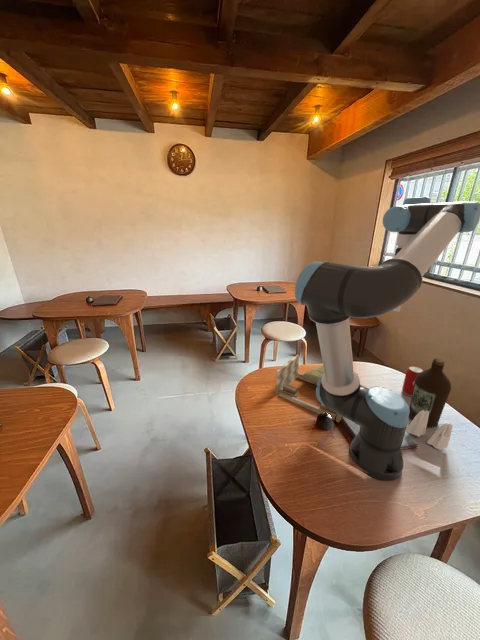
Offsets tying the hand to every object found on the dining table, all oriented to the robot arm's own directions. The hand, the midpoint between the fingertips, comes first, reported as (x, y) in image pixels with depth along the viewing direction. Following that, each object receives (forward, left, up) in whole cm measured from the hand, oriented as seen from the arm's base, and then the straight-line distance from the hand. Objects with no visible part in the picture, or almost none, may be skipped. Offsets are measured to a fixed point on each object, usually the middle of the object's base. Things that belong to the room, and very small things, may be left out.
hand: (398, 305), depth 99 cm
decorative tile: (-13, +20, -36) cm, 43 cm away
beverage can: (+12, -10, -41) cm, 44 cm away
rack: (-15, +22, -41) cm, 49 cm away
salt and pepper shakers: (-16, -18, -41) cm, 48 cm away
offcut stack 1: (-21, +31, -41) cm, 56 cm away
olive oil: (-4, -16, -41) cm, 44 cm away
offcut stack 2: (-22, +13, -41) cm, 49 cm away
